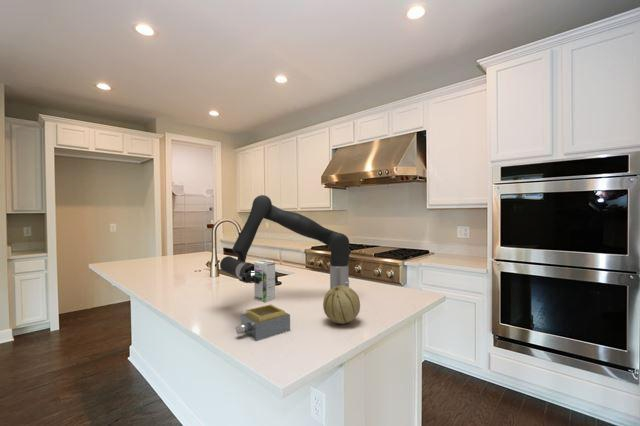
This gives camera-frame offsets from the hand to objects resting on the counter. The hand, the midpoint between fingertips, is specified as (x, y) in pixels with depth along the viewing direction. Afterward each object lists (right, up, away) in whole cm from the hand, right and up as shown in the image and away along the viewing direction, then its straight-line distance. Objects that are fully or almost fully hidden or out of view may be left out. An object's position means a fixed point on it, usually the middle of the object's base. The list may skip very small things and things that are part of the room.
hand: (267, 279), depth 112 cm
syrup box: (-1, -8, +2) cm, 9 cm away
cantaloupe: (+28, -19, +9) cm, 35 cm away
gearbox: (-3, -20, +1) cm, 20 cm away
